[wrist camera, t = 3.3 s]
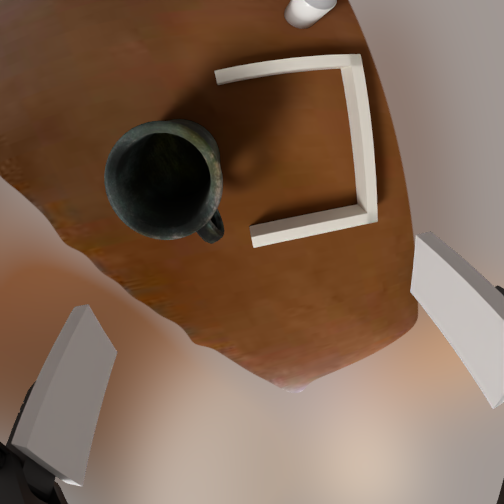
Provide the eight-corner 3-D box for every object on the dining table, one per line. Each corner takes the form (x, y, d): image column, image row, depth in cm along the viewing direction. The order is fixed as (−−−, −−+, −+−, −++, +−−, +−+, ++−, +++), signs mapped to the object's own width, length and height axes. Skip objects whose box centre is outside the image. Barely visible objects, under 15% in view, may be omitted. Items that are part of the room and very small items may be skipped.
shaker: (280, 4, 27) (300, -26, 19) (310, 1, 27) (336, -27, 19) (289, 30, 29) (312, 5, 20) (319, 27, 29) (349, 4, 20)
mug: (190, 97, 32) (173, 95, 22) (255, 191, 39) (266, 227, 28) (121, 150, 34) (82, 172, 24) (187, 234, 41) (175, 284, 30)
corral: (215, 73, 31) (214, 70, 28) (349, 57, 31) (360, 54, 28) (251, 236, 42) (253, 247, 38) (367, 212, 41) (377, 221, 38)
